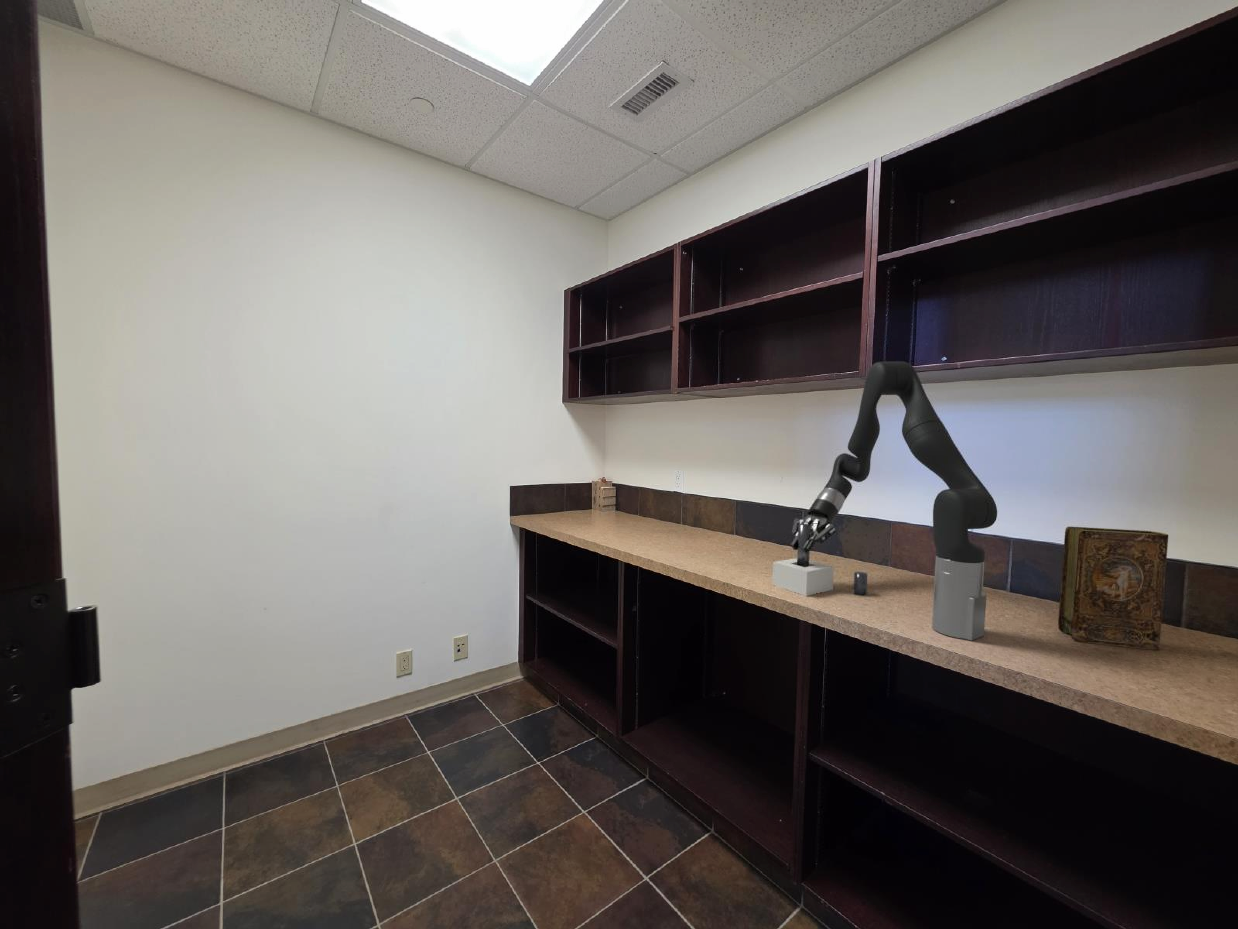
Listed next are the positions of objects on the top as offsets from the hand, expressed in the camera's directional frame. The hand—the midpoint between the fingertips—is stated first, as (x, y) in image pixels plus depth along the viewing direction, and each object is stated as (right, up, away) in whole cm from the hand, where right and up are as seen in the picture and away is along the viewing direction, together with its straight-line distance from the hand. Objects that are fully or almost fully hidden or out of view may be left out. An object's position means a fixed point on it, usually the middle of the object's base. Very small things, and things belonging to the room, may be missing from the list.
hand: (799, 549), depth 145 cm
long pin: (+2, -6, +1) cm, 6 cm away
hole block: (+1, -12, +2) cm, 12 cm away
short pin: (+16, -12, -3) cm, 21 cm away
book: (+57, -15, -35) cm, 68 cm away
